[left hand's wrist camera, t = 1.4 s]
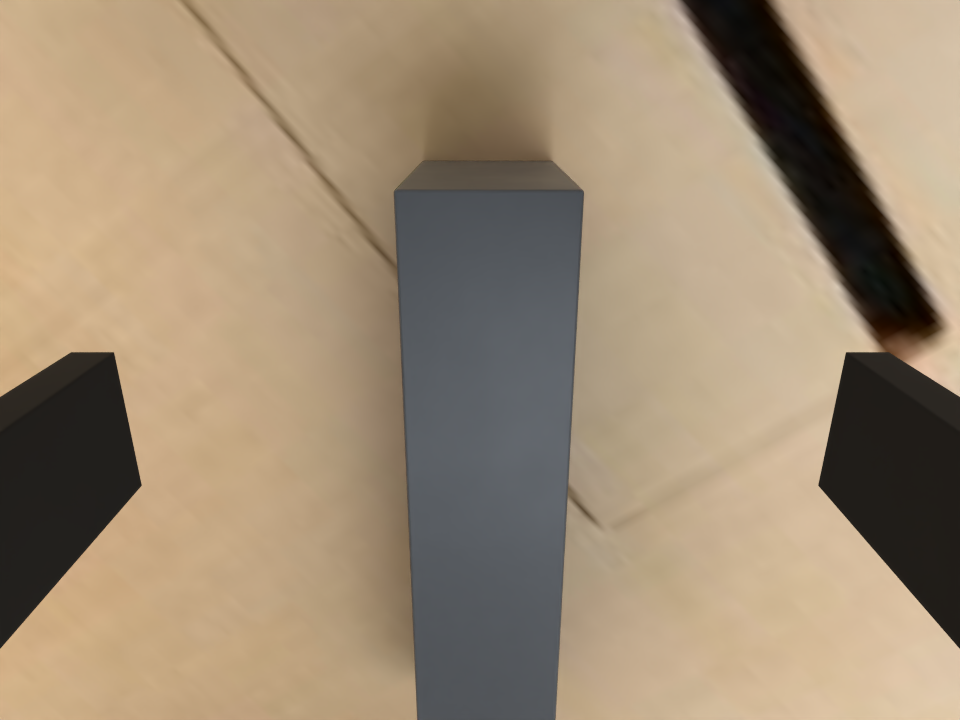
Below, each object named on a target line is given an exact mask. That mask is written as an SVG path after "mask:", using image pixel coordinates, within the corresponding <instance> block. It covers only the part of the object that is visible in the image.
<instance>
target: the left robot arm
mask: <svg viewBox="0 0 960 720" xmlns="http://www.w3.org/2000/svg"><path fill="white" fill-rule="evenodd" d="M141 486H142V485H141V480H140V475H139V471H138V466H137V461H136V456H135V451H134V447H133V442H132V437H131V432H130V427H129V423H128V418H127V413H126V408H125V403H124V399H123V394H122V389H121V384H120V379H119V375H118V370H117V365H116V360H115V355H114V352H71V353H69V354H68V355H66V356H65V357H63V358H62V359H60V360H58V361H57V362H55V363H54V364H52V365H50V366H49V367H47V368H46V369H44V370H42V371H41V372H39V373H38V374H36V375H35V376H33V377H31V378H30V379H28V380H27V381H25V382H23V383H22V384H20V385H19V386H17V387H15V388H14V389H12V390H11V391H9V392H8V393H6V394H4V395H3V396H1V397H0V648H1V647H2V646H3V645H4V644H5V643H6V641H7V640H8V639H9V638H10V637H11V636H12V634H13V633H14V632H15V631H16V630H17V629H18V628H19V626H20V625H21V624H22V623H23V622H24V621H25V619H26V618H27V617H28V616H29V615H30V614H31V613H32V611H33V610H34V609H35V608H36V607H37V606H38V604H39V603H40V602H41V601H42V600H43V599H44V598H45V596H46V595H47V594H48V593H49V592H50V591H51V589H52V588H53V587H54V586H55V585H56V584H57V583H58V581H59V580H60V579H61V578H62V577H63V576H64V574H65V573H66V572H67V571H68V570H69V569H70V568H71V566H72V565H73V564H74V563H75V562H76V561H77V559H78V558H79V557H80V556H81V555H82V554H83V553H84V551H85V550H86V549H87V548H88V547H89V546H90V544H91V543H92V542H93V541H94V540H95V539H96V538H97V536H98V535H99V534H100V533H101V532H102V531H103V529H104V528H105V527H106V526H107V525H108V524H109V523H110V521H111V520H112V519H113V518H114V517H115V516H116V514H117V513H118V512H119V511H120V510H121V509H122V508H123V506H124V505H125V504H126V503H127V502H128V501H129V499H130V498H131V497H132V496H133V495H134V494H135V493H136V491H137V490H138V489H139V488H140V487H141ZM818 486H819V487H820V488H821V489H822V490H823V491H824V493H825V494H826V495H827V496H828V497H829V498H830V499H831V501H832V502H833V503H834V504H835V505H836V506H837V508H838V509H839V510H840V511H841V512H842V513H843V514H844V516H845V517H846V518H847V519H848V520H849V521H850V523H851V524H852V525H853V526H854V527H855V528H856V529H857V531H858V532H859V533H860V534H861V535H862V536H863V538H864V539H865V540H866V541H867V542H868V543H869V544H870V546H871V547H872V548H873V549H874V550H875V551H876V553H877V554H878V555H879V556H880V557H881V558H882V559H883V561H884V562H885V563H886V564H887V565H888V566H889V568H890V569H891V570H892V571H893V572H894V573H895V574H896V576H897V577H898V578H899V579H900V580H901V581H902V583H903V584H904V585H905V586H906V587H907V588H908V589H909V591H910V592H911V593H912V594H913V595H914V596H915V598H916V599H917V600H918V601H919V602H920V603H921V604H922V606H923V607H924V608H925V609H926V610H927V611H928V613H929V614H930V615H931V616H932V617H933V618H934V619H935V621H936V622H937V623H938V624H939V625H940V626H941V628H942V629H943V630H944V631H945V632H946V633H947V634H948V636H949V637H950V638H951V639H952V640H953V641H954V643H955V644H956V645H957V646H958V647H959V648H960V397H959V396H957V395H956V394H954V393H952V392H951V391H949V390H948V389H946V388H945V387H943V386H941V385H940V384H938V383H937V382H935V381H933V380H932V379H930V378H929V377H927V376H925V375H924V374H922V373H921V372H919V371H918V370H916V369H914V368H913V367H911V366H910V365H908V364H906V363H905V362H903V361H902V360H900V359H898V358H897V357H895V356H894V355H892V354H891V353H889V352H846V355H845V360H844V365H843V370H842V375H841V379H840V384H839V389H838V394H837V399H836V403H835V408H834V413H833V418H832V423H831V427H830V432H829V437H828V442H827V447H826V451H825V456H824V461H823V466H822V471H821V475H820V480H819V485H818Z"/></svg>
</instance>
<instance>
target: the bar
mask: <svg viewBox="0 0 960 720" xmlns="http://www.w3.org/2000/svg"><path fill="white" fill-rule="evenodd" d="M583 201H584V192H583V190H582V189H581V188H580V187H579V186H578V185H577V184H576V183H575V182H574V181H573V180H572V179H571V178H570V177H569V176H568V175H566V174H565V173H564V172H563V171H562V170H561V169H560V168H559V167H558V166H557V165H556V164H555V163H554V162H553V161H423V162H422V163H421V164H420V165H419V166H418V167H417V168H416V169H415V170H414V171H413V172H412V173H411V174H410V175H409V176H408V177H407V178H406V179H405V180H404V181H403V182H402V183H401V184H400V185H399V186H398V187H397V188H396V189H395V191H394V206H395V229H396V251H397V274H398V296H399V319H400V341H401V364H402V386H403V409H404V431H405V454H406V476H407V499H408V521H409V544H410V567H411V589H412V612H413V634H414V657H415V679H416V702H417V720H555V718H556V700H557V681H558V663H559V644H560V626H561V607H562V589H563V570H564V552H565V533H566V515H567V497H568V478H569V460H570V441H571V423H572V404H573V386H574V367H575V349H576V330H577V312H578V293H579V275H580V257H581V238H582V220H583Z"/></svg>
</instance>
